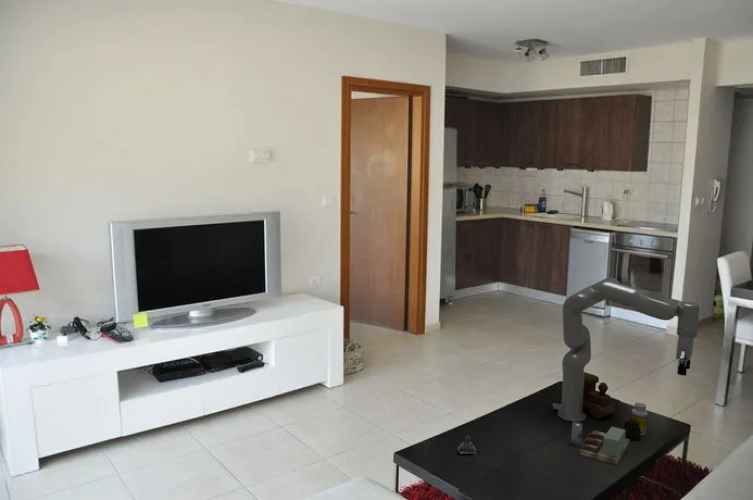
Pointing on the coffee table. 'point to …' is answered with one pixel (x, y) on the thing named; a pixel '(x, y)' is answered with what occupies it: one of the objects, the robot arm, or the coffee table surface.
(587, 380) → the wooden toy train
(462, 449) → the house of cards
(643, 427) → the supplement bottle
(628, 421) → the mate gourd
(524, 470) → the coffee table surface
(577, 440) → the peg
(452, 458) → the coffee table surface
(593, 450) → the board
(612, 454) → the housing
